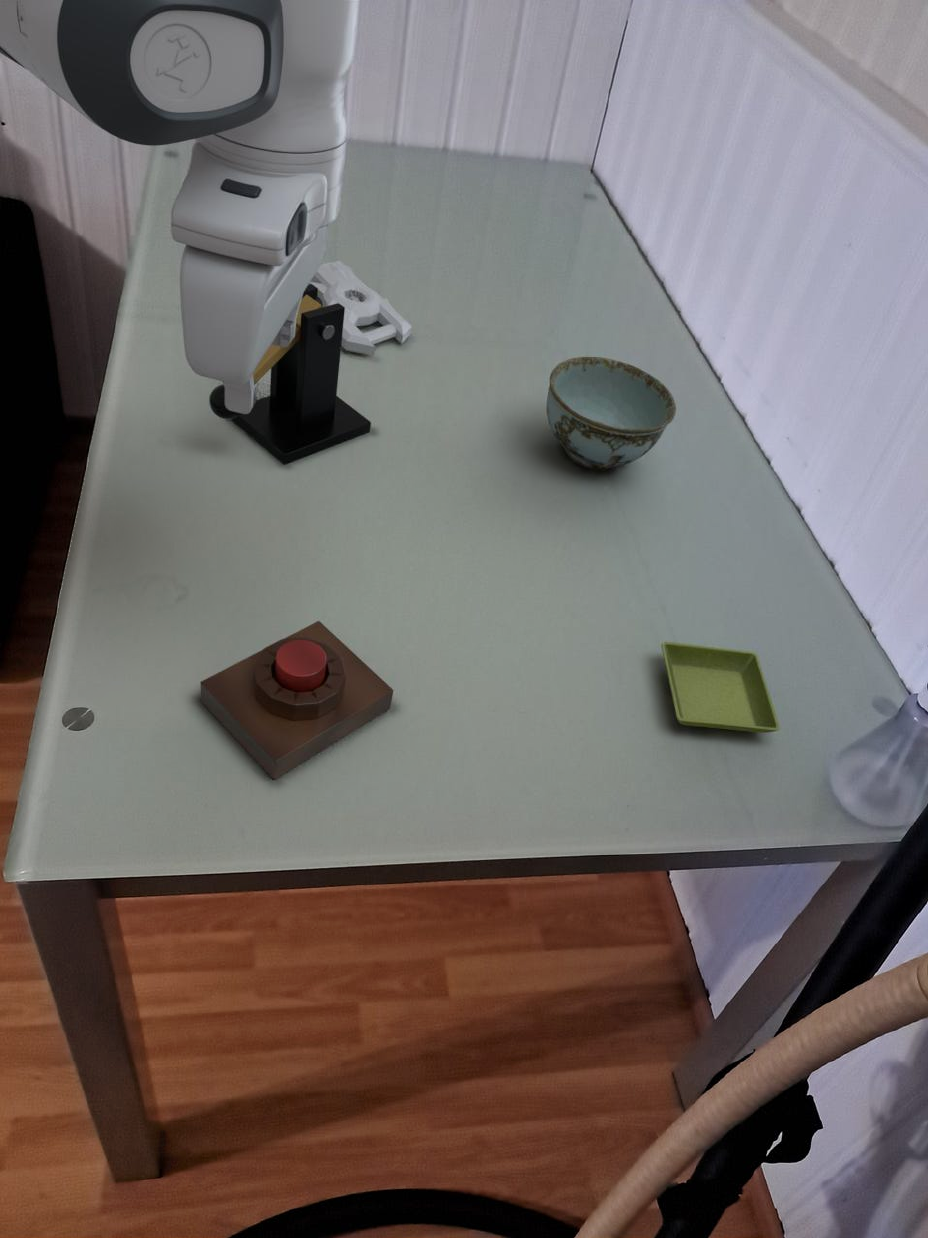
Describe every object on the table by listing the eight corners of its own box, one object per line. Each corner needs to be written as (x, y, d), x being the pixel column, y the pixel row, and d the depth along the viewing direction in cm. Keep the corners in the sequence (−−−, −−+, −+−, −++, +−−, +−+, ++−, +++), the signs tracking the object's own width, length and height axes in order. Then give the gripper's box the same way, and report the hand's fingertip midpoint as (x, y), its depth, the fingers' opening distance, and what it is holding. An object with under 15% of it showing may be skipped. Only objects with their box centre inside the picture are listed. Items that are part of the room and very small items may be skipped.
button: (295, 700, 68) (296, 684, 67) (264, 669, 70) (265, 653, 69) (334, 677, 71) (336, 661, 69) (304, 648, 72) (305, 632, 71)
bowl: (523, 412, 108) (540, 348, 102) (636, 424, 110) (658, 362, 105) (541, 487, 98) (560, 422, 93) (665, 498, 101) (691, 435, 95)
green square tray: (669, 735, 77) (677, 719, 76) (653, 656, 83) (660, 640, 82) (770, 746, 78) (781, 731, 77) (747, 667, 85) (757, 652, 83)
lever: (233, 431, 90) (216, 413, 87) (213, 414, 91) (196, 395, 88) (335, 325, 91) (322, 304, 88) (314, 310, 92) (301, 288, 89)
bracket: (284, 464, 93) (292, 336, 84) (229, 418, 97) (231, 290, 87) (370, 431, 100) (386, 309, 90) (315, 389, 103) (325, 267, 94)
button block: (274, 780, 68) (276, 746, 65) (200, 701, 71) (199, 665, 69) (390, 708, 74) (396, 674, 71) (316, 639, 78) (320, 604, 75)
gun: (277, 258, 115) (347, 249, 120) (274, 285, 117) (344, 275, 123) (357, 341, 107) (429, 327, 112) (353, 367, 109) (424, 353, 115)
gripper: (269, 111, 66) (261, 298, 76) (157, 223, 51) (165, 438, 61) (358, 133, 66) (339, 317, 76) (273, 251, 51) (263, 462, 61)
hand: (261, 372), depth 68 cm, fingers open, 8 cm apart
